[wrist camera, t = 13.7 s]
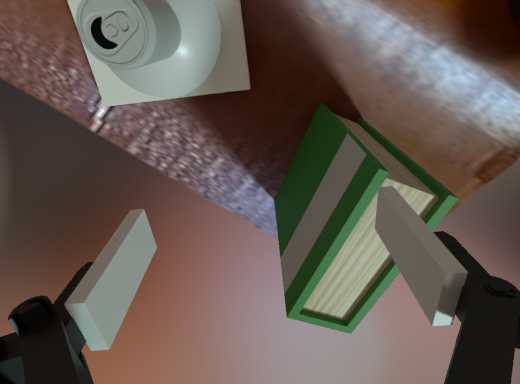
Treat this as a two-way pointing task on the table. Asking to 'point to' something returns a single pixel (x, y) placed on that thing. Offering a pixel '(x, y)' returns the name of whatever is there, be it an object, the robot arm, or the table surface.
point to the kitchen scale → (184, 58)
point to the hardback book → (344, 219)
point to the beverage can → (128, 31)
